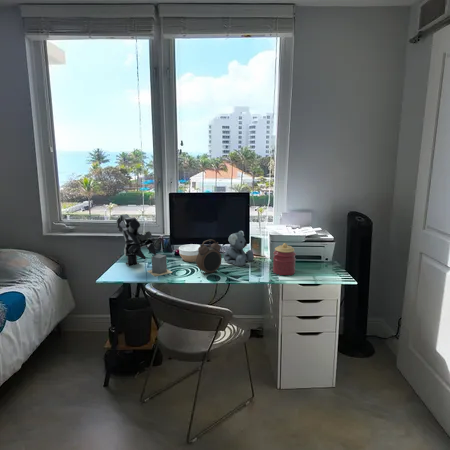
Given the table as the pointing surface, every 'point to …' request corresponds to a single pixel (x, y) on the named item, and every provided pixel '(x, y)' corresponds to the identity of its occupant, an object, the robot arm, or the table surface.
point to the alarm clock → (209, 257)
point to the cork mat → (159, 274)
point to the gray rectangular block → (159, 264)
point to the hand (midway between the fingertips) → (150, 256)
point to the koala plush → (238, 250)
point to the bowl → (189, 252)
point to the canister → (284, 260)
